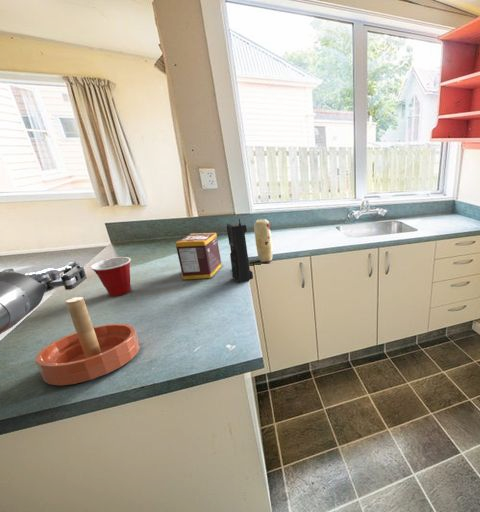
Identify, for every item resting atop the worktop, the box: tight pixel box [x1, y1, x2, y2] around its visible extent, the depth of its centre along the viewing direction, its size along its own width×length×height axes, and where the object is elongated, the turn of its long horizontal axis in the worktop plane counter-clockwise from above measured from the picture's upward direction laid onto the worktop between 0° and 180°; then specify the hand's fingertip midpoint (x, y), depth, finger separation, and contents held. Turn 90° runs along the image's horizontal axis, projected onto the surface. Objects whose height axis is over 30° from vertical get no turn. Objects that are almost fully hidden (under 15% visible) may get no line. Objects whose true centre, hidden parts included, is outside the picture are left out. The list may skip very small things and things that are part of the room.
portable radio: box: [226, 218, 254, 283], centre depth 117 cm, size 8×6×25 cm
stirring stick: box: [65, 296, 102, 358], centre depth 68 cm, size 3×3×16 cm
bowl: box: [34, 323, 141, 386], centre depth 70 cm, size 17×17×6 cm
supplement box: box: [174, 232, 223, 281], centre depth 124 cm, size 10×15×16 cm
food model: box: [253, 218, 273, 263], centre depth 140 cm, size 10×7×20 cm
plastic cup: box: [89, 256, 132, 297], centre depth 105 cm, size 11×11×12 cm
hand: (44, 269), depth 57 cm, fingers open, 8 cm apart
